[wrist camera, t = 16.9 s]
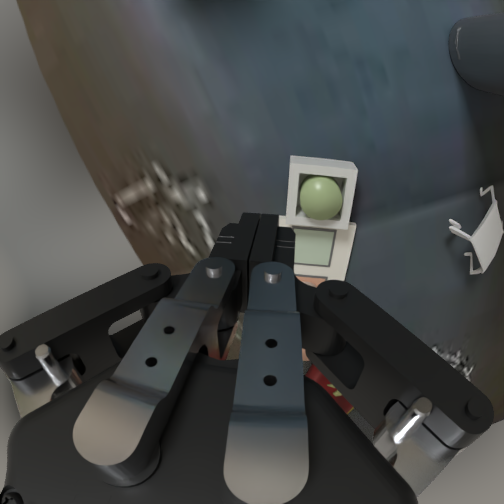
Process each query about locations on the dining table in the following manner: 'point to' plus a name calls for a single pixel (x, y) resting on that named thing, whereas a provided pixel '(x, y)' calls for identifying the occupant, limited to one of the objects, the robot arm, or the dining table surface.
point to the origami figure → (483, 235)
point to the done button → (320, 197)
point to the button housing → (318, 166)
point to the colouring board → (321, 251)
